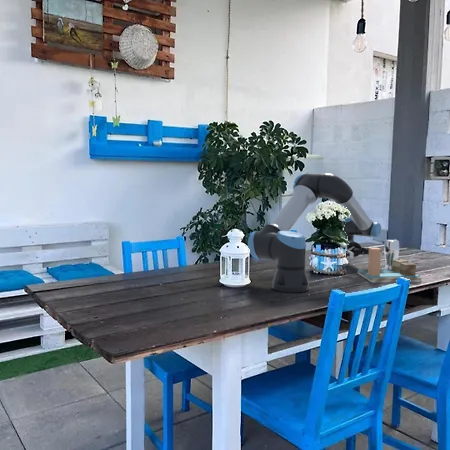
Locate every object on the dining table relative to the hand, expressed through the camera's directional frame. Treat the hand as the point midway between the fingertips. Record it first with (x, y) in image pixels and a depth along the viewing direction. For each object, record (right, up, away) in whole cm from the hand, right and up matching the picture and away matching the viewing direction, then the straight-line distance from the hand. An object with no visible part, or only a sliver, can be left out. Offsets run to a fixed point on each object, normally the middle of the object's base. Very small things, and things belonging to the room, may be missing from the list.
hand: (367, 255), depth 219 cm
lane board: (+9, -10, -3) cm, 14 cm away
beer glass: (+16, -8, +13) cm, 22 cm away
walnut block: (+16, -8, -8) cm, 19 cm away
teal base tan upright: (+9, -9, -8) cm, 15 cm away
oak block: (+16, -7, +1) cm, 17 cm away
